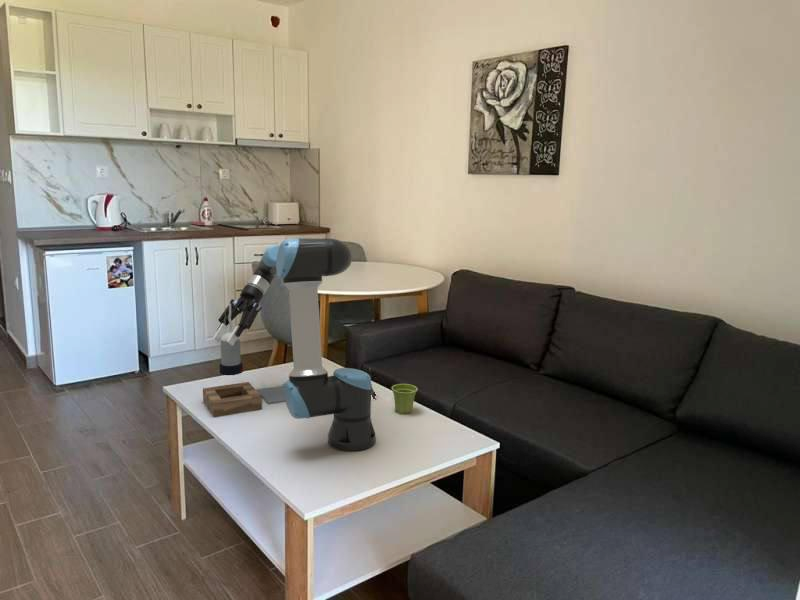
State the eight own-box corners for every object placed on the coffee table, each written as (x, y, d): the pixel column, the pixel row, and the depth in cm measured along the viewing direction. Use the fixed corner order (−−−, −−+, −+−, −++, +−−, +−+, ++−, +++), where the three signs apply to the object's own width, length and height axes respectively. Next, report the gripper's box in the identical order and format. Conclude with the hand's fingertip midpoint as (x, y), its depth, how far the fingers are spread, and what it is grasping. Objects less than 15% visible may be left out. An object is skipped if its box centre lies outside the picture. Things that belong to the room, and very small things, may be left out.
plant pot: (417, 406, 217) (418, 384, 215) (415, 416, 208) (416, 393, 206) (392, 405, 218) (393, 383, 216) (389, 414, 208) (390, 391, 207)
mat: (309, 397, 223) (309, 396, 223) (268, 404, 215) (268, 402, 215) (295, 385, 236) (295, 383, 236) (255, 390, 228) (255, 389, 228)
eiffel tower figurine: (393, 401, 224) (394, 367, 221) (373, 407, 217) (373, 372, 214) (368, 390, 234) (369, 358, 232) (348, 396, 228) (348, 363, 225)
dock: (261, 409, 210) (261, 396, 209) (213, 417, 202) (213, 403, 201) (248, 394, 225) (248, 381, 224) (203, 401, 216) (202, 388, 215)
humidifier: (245, 373, 209) (243, 305, 204) (221, 376, 205) (219, 306, 201) (240, 367, 216) (238, 301, 211) (217, 370, 212) (215, 302, 208)
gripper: (279, 298, 214) (248, 351, 203) (241, 293, 224) (209, 343, 213) (269, 286, 209) (236, 340, 198) (230, 281, 218) (197, 332, 207)
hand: (222, 341), depth 205 cm, fingers closed on humidifier, 6 cm apart
